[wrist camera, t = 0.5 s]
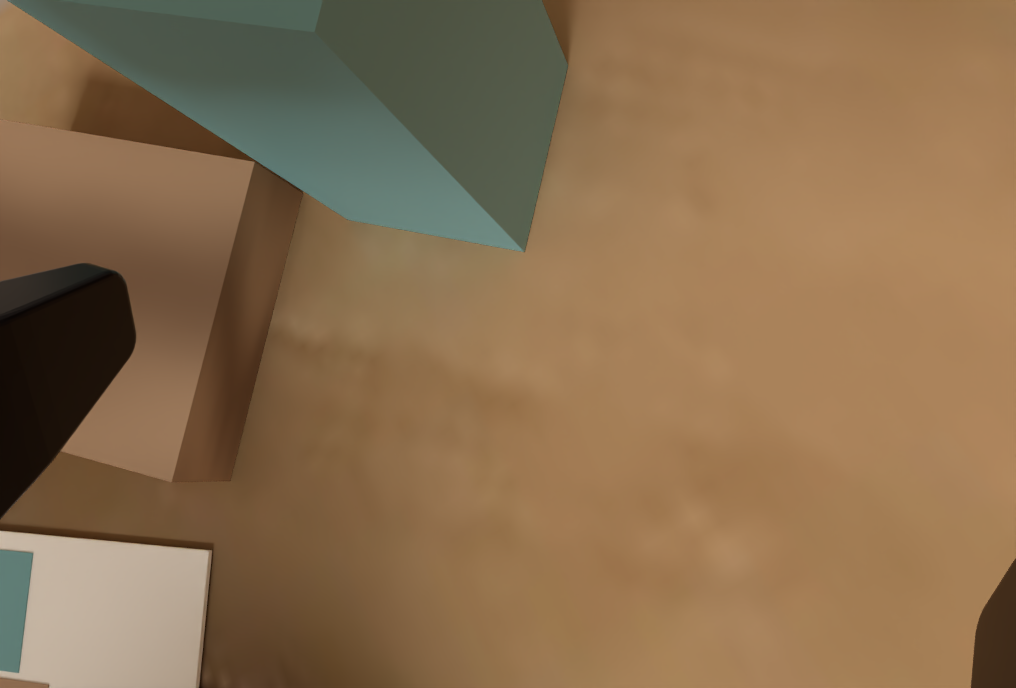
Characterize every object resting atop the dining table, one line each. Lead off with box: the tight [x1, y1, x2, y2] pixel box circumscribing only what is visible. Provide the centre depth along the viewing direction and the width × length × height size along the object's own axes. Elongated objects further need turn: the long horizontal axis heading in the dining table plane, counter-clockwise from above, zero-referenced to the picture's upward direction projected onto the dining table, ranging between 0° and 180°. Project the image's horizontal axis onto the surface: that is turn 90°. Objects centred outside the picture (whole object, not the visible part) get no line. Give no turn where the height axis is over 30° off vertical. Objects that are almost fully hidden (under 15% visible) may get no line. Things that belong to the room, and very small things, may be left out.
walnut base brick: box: [0, 119, 303, 482], centre depth 24 cm, size 8×8×3 cm
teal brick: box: [8, 0, 568, 252], centre depth 18 cm, size 5×5×12 cm
